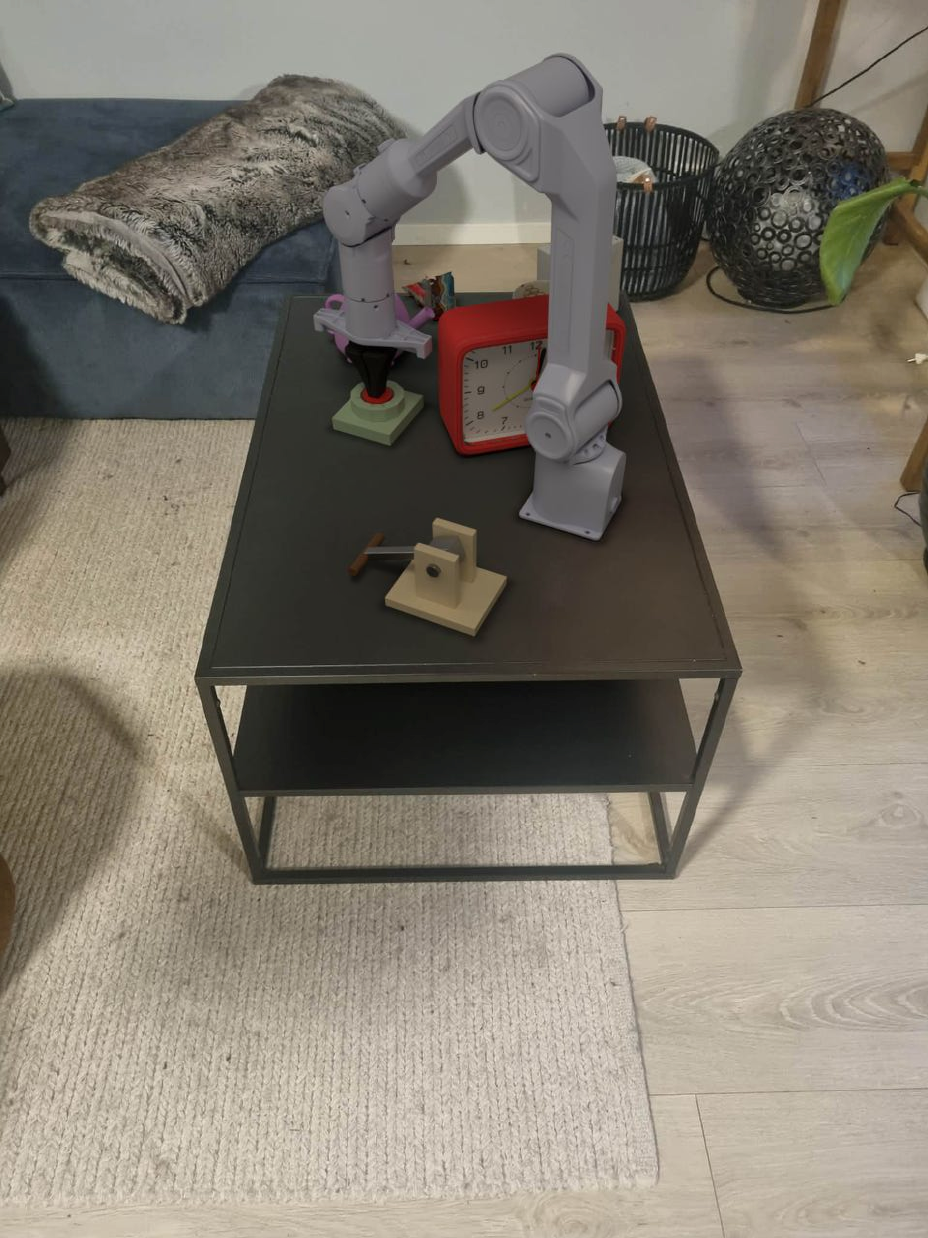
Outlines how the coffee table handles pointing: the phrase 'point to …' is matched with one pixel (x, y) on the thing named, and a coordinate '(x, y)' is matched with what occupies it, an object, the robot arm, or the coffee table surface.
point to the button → (383, 399)
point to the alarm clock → (499, 369)
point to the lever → (402, 551)
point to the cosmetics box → (615, 268)
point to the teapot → (401, 315)
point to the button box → (378, 414)
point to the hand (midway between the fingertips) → (377, 393)
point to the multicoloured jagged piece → (434, 293)
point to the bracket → (447, 583)
